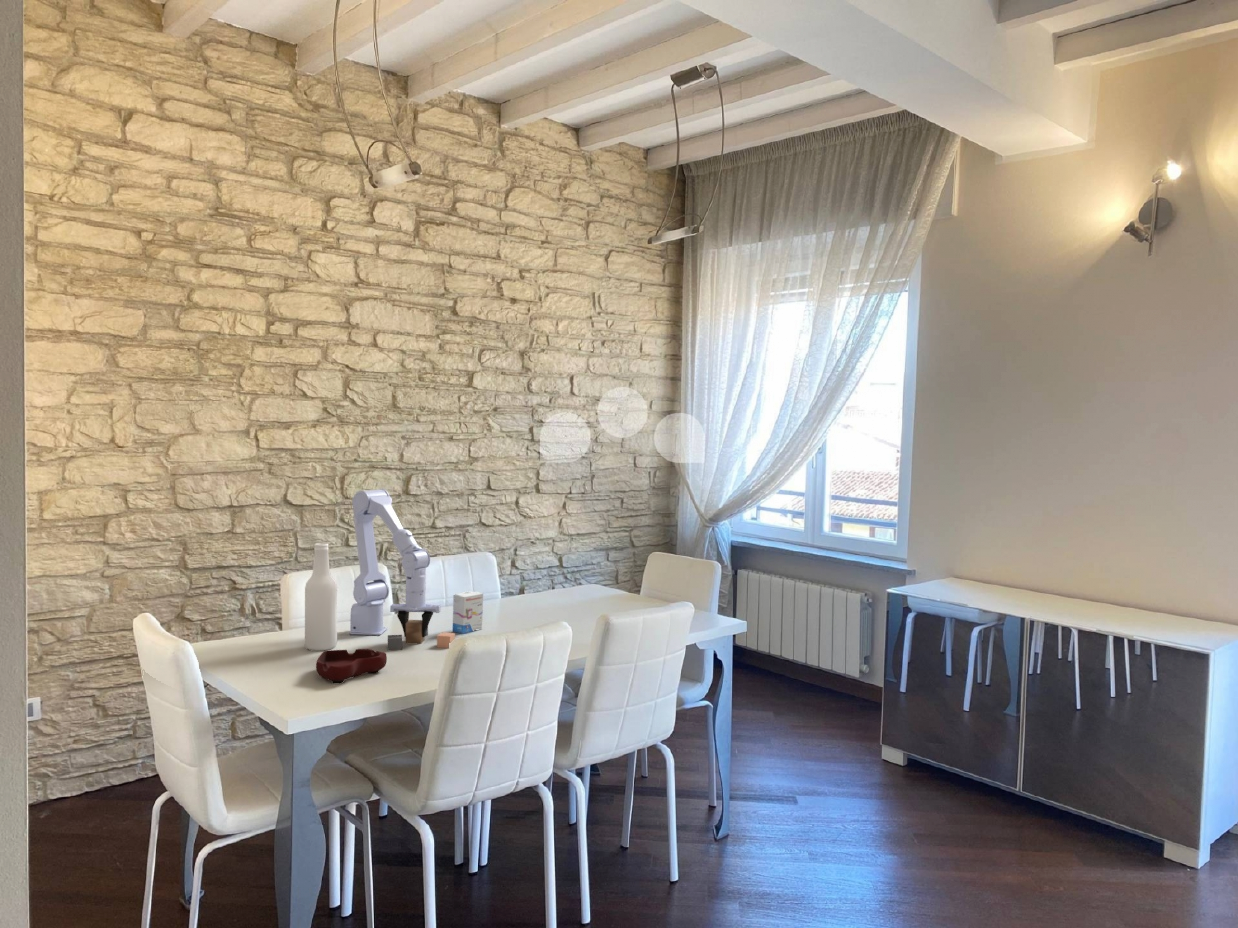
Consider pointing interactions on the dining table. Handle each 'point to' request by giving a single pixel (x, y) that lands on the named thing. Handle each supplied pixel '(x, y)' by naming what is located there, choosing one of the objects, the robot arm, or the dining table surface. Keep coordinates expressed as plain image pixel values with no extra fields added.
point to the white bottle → (321, 603)
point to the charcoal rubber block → (394, 642)
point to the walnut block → (414, 632)
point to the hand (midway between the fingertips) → (415, 636)
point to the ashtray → (349, 664)
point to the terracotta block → (445, 639)
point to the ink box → (467, 611)
